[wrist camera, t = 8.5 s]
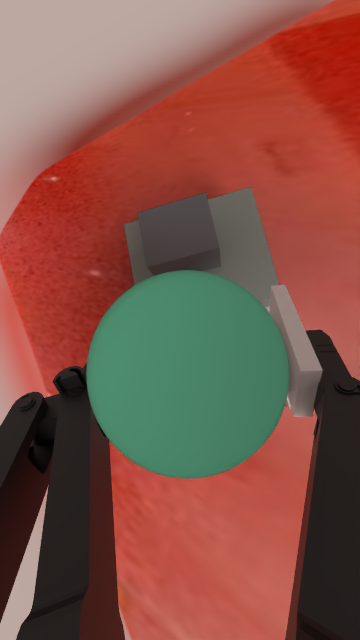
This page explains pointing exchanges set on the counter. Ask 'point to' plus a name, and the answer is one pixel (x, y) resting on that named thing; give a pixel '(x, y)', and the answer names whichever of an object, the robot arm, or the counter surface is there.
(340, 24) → the counter surface
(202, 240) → the stacked grey blocks
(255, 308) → the milk bottle
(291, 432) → the counter surface
